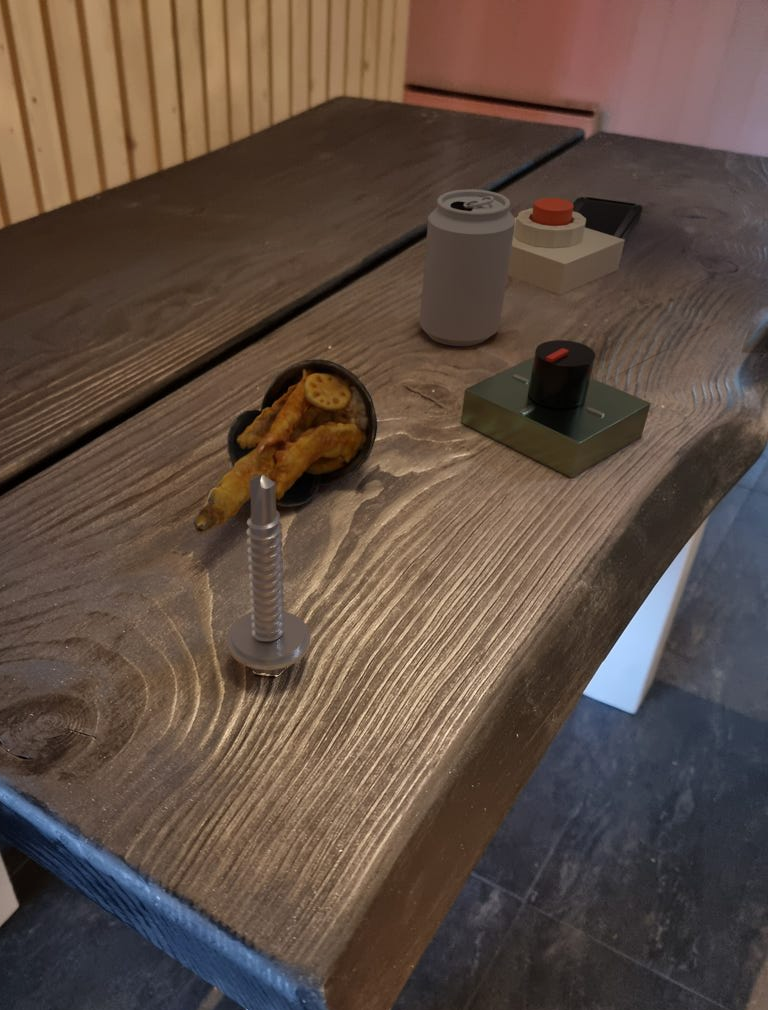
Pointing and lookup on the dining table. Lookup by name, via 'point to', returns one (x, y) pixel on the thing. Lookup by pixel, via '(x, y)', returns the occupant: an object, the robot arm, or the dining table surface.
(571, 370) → the timer knob
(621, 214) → the phone
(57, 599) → the dining table surface
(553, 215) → the button
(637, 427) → the timer panel
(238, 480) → the fried shrimp in bowl
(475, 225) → the can
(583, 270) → the beige button box
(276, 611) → the screw
